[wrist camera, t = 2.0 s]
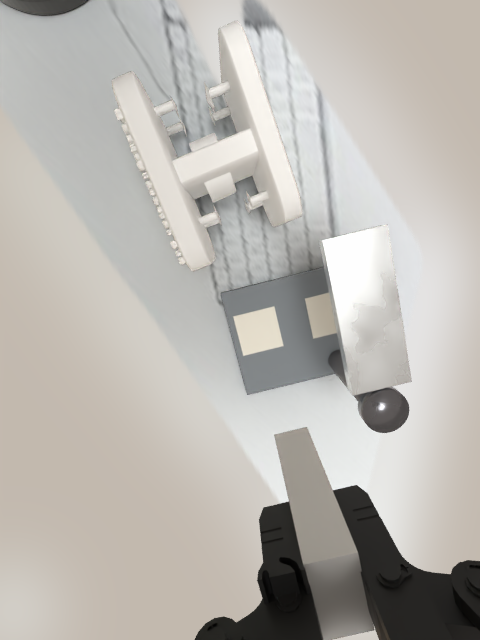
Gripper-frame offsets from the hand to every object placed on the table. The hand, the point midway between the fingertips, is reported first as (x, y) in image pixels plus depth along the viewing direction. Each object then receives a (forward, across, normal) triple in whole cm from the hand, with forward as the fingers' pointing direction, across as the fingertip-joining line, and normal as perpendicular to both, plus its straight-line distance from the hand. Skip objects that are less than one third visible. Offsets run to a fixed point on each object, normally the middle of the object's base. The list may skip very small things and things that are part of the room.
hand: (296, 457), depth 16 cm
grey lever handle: (+12, +8, +1) cm, 15 cm away
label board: (+24, +4, -1) cm, 25 cm away
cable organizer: (+25, 0, +16) cm, 30 cm away
